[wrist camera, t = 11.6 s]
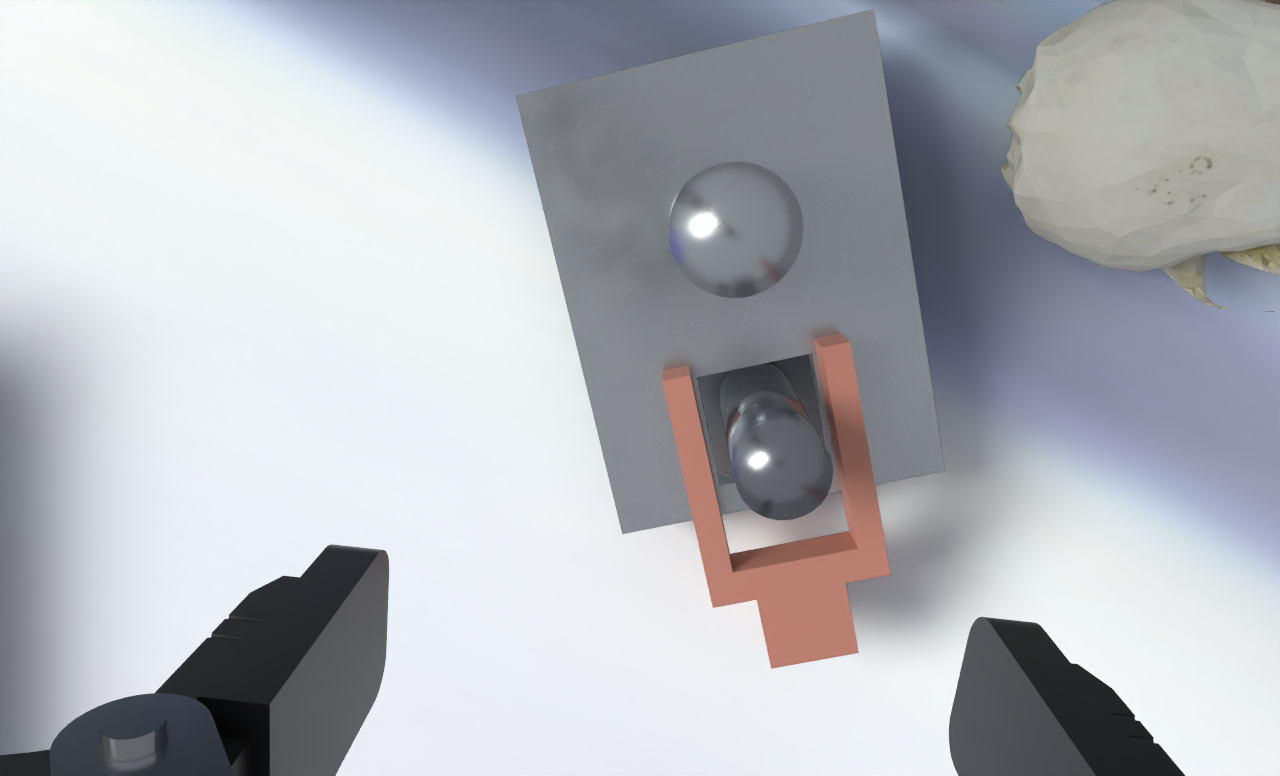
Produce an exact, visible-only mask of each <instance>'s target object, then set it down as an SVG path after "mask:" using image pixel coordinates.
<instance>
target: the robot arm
mask: <svg viewBox="0 0 1280 776" xmlns="http://www.w3.org/2000/svg"><path fill="white" fill-rule="evenodd" d="M388 586H389V560H388V555H387V553H386V551H385V550H377V549H368V548H359V547H350V546H341V545H329V546H327V547H326V548H325V549H324V551H323V552H322V553H321V554H320V555H319V556H318V557H317V559H316V560H315V561H314V562H313V563H312V564H311V566H310V567H309V568H308V569H307V570H306V571H305V572H304V574H303V575H302V576H301V577H300V578H299V577H289V576H282V577H280V578H278V579H276V580H274V581H272V582H270V583H268V584H266V585H264V586H263V587H261V588H259V589H257V590H255V591H253V592H251V593H249V594H248V596H247V597H246V598H245V599H244V600H243V601H242V602H241V603H240V604H239V605H238V606H237V607H236V608H235V609H234V610H233V611H232V612H231V613H230V614H229V619H225V620H224V621H223V622H222V623H221V624H220V625H219V626H218V627H217V628H216V629H215V630H214V631H213V632H212V636H211V638H207V639H206V640H205V641H204V642H203V643H202V644H201V645H200V646H199V647H198V648H197V649H196V650H195V651H194V652H193V653H192V654H191V655H190V657H189V658H188V659H187V660H186V661H185V662H184V663H183V664H182V665H181V666H180V667H179V668H178V669H177V670H176V671H175V672H174V673H173V674H172V675H171V676H170V678H169V679H168V680H167V681H166V682H165V683H164V684H163V685H162V686H161V687H160V688H159V689H158V690H157V691H156V692H155V693H154V694H143V695H136V696H131V697H126V698H122V699H118V700H115V701H111V702H109V703H106V704H103V705H101V706H98V707H96V708H94V709H92V710H90V711H88V712H86V713H84V714H83V715H81V716H79V717H78V718H76V719H75V720H73V721H72V722H71V723H69V724H68V725H67V726H66V727H65V728H64V729H63V730H62V731H61V732H60V733H59V734H58V735H57V737H56V738H55V740H54V741H53V743H52V746H51V748H50V750H44V751H38V752H29V753H20V754H10V755H0V776H335V775H336V773H337V771H338V769H339V767H340V766H341V764H342V762H343V760H344V758H345V756H346V754H347V752H348V751H349V749H350V747H351V745H352V743H353V741H354V739H355V737H356V736H357V734H358V732H359V730H360V728H361V726H362V724H363V722H364V721H365V719H366V717H367V715H368V713H369V711H370V709H371V707H372V706H373V704H374V702H375V700H376V697H377V695H378V692H379V689H380V685H381V681H382V677H383V672H384V667H385V659H386V642H387V614H388ZM949 744H950V752H951V757H952V761H953V764H954V767H955V769H956V771H957V773H958V775H959V776H1185V775H1184V774H1183V773H1182V771H1181V770H1180V769H1179V768H1178V767H1177V765H1176V764H1175V763H1174V762H1173V761H1172V759H1171V758H1170V757H1169V756H1168V755H1167V753H1166V752H1165V751H1164V750H1163V749H1162V747H1161V746H1160V745H1159V744H1156V743H1154V742H1153V737H1152V736H1151V734H1150V733H1149V732H1148V731H1147V730H1146V728H1145V727H1144V726H1143V725H1142V724H1141V722H1140V721H1135V715H1134V714H1133V713H1132V712H1131V710H1130V709H1129V708H1128V707H1127V706H1126V704H1125V703H1124V702H1123V701H1122V700H1121V699H1120V697H1119V696H1118V695H1117V694H1116V693H1115V691H1114V690H1113V689H1112V688H1110V687H1109V686H1108V685H1106V684H1105V683H1103V682H1102V681H1101V680H1099V679H1098V678H1096V677H1095V676H1093V675H1092V674H1091V673H1089V672H1088V671H1086V670H1085V669H1084V668H1082V667H1081V666H1079V665H1078V664H1071V663H1070V662H1069V661H1068V659H1067V658H1066V657H1065V656H1064V654H1063V653H1062V652H1061V651H1060V649H1059V648H1058V647H1057V646H1056V644H1055V643H1054V642H1053V641H1052V639H1051V638H1050V637H1049V636H1048V634H1047V633H1046V632H1045V631H1044V629H1043V628H1042V627H1041V626H1040V625H1039V624H1037V623H1032V622H1023V621H1014V620H1004V619H995V618H986V617H979V618H978V619H976V620H975V622H974V623H973V625H972V627H971V630H970V633H969V636H968V641H967V645H966V650H965V654H964V658H963V663H962V667H961V672H960V676H959V681H958V685H957V690H956V694H955V698H954V703H953V707H952V712H951V717H950V724H949Z"/></svg>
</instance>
